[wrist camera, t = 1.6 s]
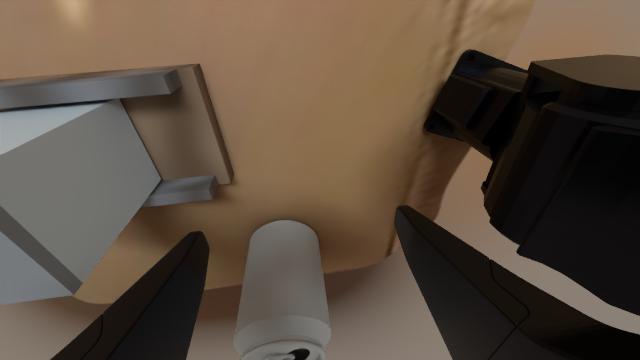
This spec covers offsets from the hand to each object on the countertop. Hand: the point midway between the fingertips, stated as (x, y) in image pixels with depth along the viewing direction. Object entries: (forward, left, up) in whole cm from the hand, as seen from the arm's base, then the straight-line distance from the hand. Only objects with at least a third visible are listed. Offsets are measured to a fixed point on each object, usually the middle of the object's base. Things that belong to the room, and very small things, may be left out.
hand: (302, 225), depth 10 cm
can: (-2, +14, -12) cm, 19 cm away
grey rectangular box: (+13, +5, -10) cm, 17 cm away
